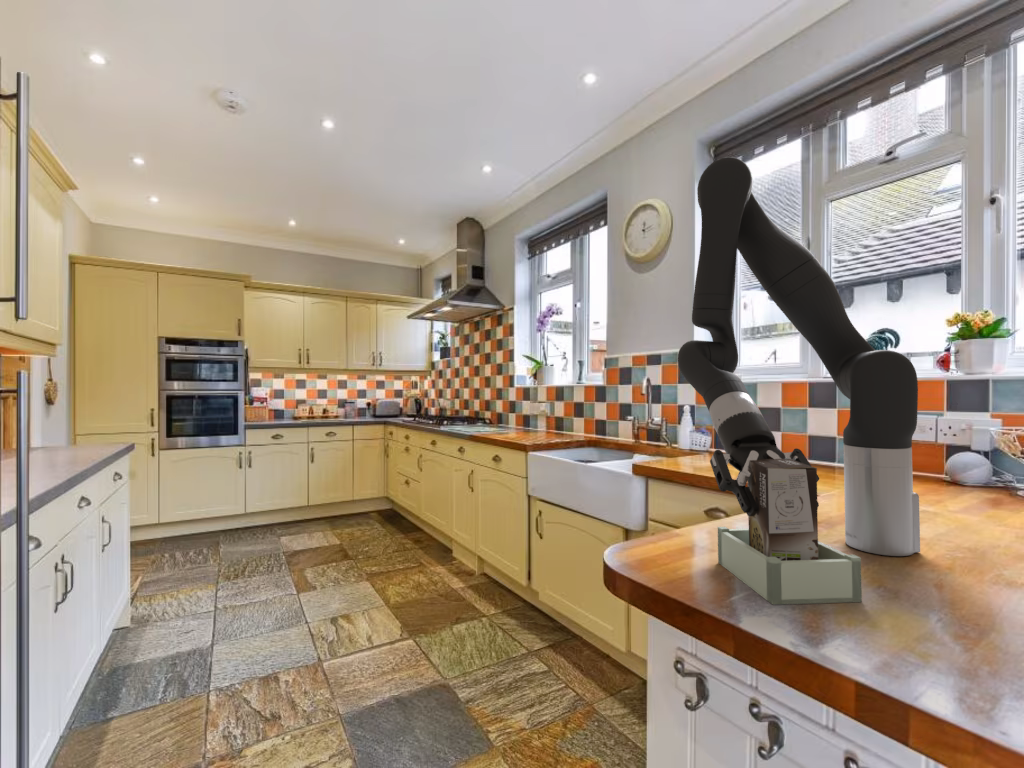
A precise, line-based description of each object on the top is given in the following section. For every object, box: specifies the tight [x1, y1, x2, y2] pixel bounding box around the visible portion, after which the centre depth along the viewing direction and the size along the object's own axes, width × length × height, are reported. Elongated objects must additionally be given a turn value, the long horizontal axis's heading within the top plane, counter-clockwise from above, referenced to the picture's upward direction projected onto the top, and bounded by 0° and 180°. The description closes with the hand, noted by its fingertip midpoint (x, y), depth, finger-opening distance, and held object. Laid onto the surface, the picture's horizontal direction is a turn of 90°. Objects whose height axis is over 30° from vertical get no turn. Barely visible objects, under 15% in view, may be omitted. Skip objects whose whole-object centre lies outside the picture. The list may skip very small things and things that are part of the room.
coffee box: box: [746, 459, 819, 561], centre depth 68 cm, size 9×6×16 cm
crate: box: [717, 526, 863, 606], centre depth 68 cm, size 12×15×6 cm
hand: (783, 513), depth 67 cm, fingers open, 8 cm apart
